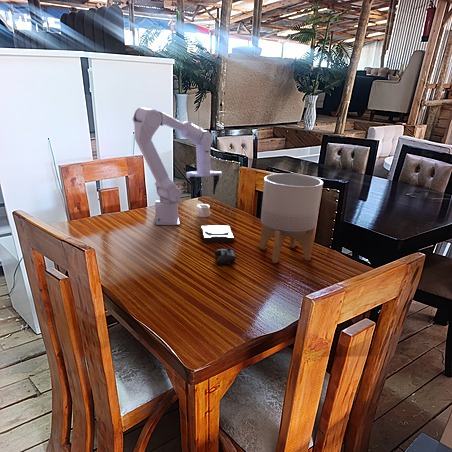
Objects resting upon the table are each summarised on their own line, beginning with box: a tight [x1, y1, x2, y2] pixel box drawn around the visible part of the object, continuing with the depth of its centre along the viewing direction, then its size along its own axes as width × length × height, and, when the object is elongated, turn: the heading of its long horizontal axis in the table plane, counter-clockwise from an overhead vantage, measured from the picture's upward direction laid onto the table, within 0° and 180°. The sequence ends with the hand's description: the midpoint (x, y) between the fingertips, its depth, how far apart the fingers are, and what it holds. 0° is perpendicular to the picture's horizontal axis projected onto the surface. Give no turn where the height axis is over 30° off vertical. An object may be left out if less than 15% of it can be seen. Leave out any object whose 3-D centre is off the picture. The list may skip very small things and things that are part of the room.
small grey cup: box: [197, 203, 211, 218], centre depth 175 cm, size 5×5×4 cm
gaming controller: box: [214, 247, 236, 266], centre depth 134 cm, size 10×5×6 cm
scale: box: [201, 224, 235, 244], centre depth 154 cm, size 11×13×2 cm
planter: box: [259, 172, 324, 264], centre depth 135 cm, size 19×19×26 cm
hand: (204, 193), depth 171 cm, fingers open, 7 cm apart
